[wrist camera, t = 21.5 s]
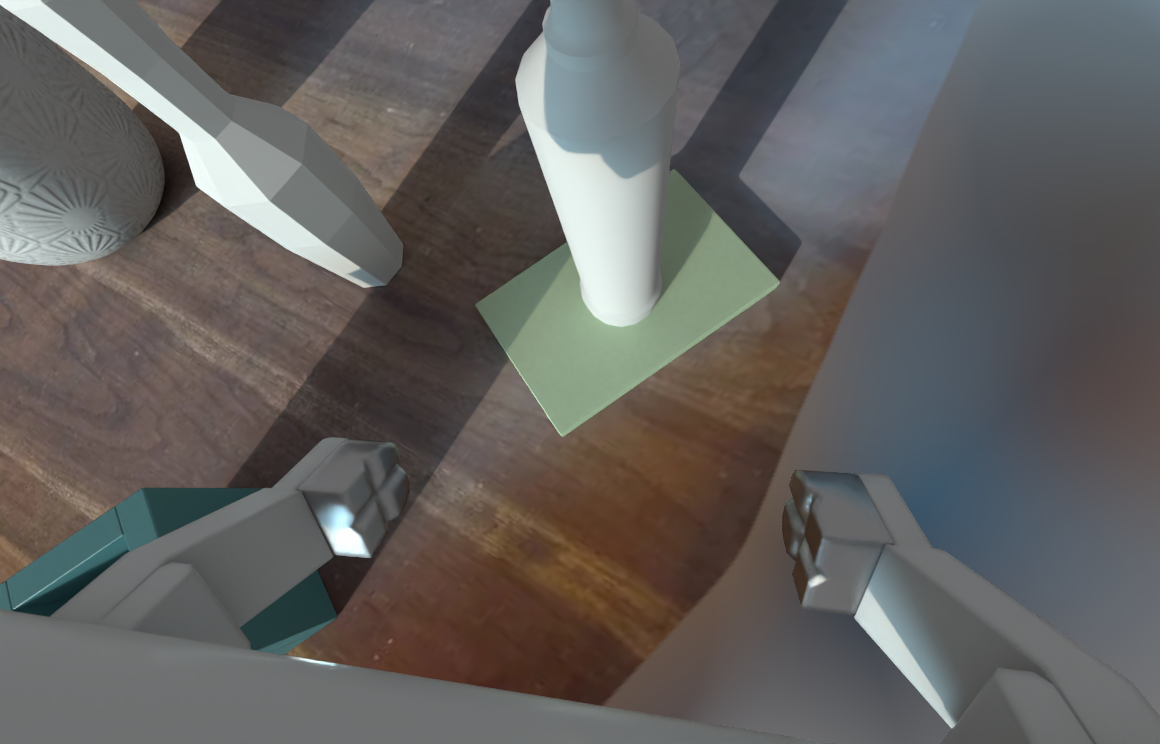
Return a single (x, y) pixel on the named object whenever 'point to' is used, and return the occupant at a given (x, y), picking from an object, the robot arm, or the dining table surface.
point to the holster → (139, 524)
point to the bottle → (605, 144)
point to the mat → (631, 353)
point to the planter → (67, 156)
